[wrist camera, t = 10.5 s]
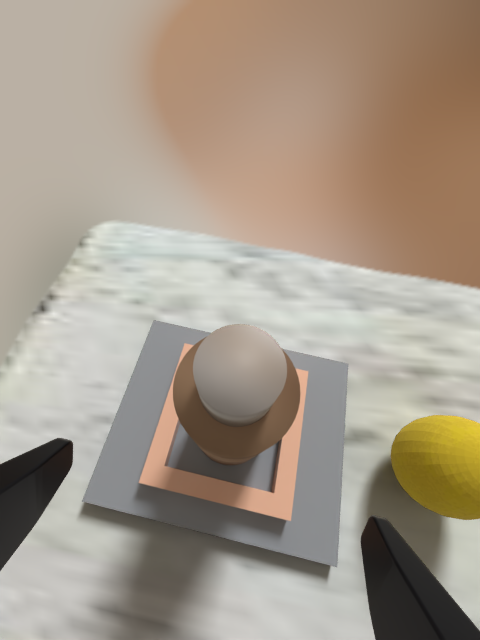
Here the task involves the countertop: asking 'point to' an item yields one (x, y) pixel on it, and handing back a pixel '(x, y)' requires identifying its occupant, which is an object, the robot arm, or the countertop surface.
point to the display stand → (227, 480)
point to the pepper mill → (236, 393)
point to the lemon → (440, 464)
